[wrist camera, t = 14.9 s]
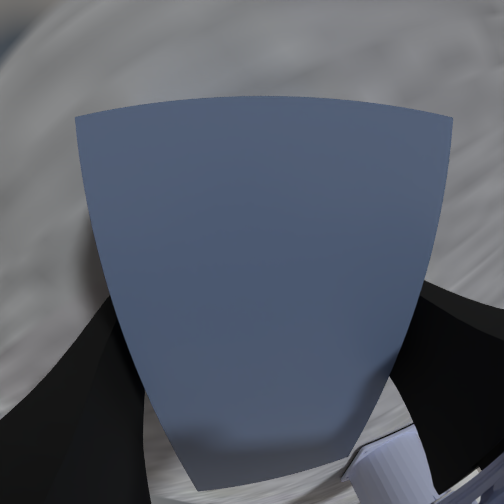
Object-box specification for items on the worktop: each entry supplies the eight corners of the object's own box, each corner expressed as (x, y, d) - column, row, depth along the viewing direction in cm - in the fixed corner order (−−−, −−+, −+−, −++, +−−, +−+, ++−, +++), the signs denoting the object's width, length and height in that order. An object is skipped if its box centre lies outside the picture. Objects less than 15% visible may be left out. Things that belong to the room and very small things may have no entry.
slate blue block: (303, 364, 14) (347, 456, 10) (182, 385, 13) (198, 491, 8) (323, 100, 9) (452, 117, 4) (133, 108, 8) (74, 117, 3)
